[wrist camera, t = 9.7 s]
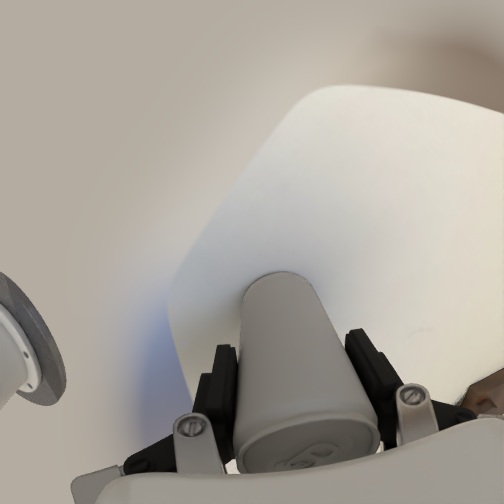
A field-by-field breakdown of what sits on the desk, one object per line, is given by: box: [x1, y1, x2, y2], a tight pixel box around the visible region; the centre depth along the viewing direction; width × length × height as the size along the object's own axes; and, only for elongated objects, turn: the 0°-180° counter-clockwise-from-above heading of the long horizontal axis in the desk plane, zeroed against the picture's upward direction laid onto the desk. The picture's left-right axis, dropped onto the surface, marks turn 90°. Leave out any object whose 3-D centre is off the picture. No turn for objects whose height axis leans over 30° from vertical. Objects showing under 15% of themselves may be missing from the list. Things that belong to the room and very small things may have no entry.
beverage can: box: [233, 272, 380, 474], centre depth 12 cm, size 5×5×12 cm
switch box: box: [461, 368, 504, 416], centre depth 20 cm, size 20×9×4 cm, turn 96°
